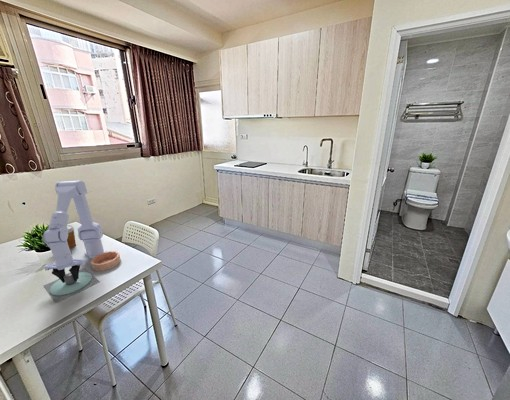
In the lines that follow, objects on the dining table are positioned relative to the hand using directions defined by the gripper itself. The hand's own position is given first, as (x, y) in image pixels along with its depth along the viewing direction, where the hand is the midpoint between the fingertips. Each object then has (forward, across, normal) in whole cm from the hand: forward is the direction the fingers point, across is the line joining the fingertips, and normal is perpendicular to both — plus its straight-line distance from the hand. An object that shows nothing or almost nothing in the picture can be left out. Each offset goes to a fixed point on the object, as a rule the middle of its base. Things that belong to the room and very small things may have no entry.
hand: (70, 280), depth 100 cm
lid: (+2, 0, 0) cm, 2 cm away
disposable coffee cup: (+2, -19, +39) cm, 43 cm away
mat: (+2, 0, 0) cm, 2 cm away
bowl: (+2, +10, +13) cm, 17 cm away
